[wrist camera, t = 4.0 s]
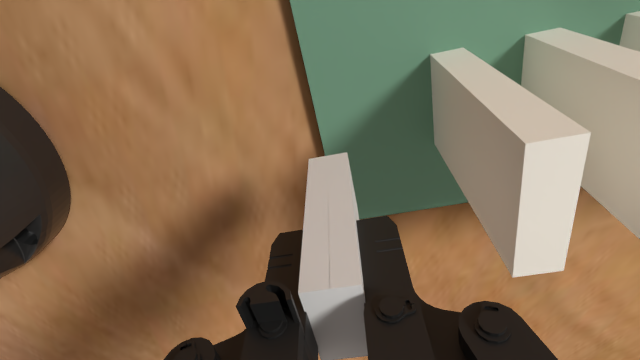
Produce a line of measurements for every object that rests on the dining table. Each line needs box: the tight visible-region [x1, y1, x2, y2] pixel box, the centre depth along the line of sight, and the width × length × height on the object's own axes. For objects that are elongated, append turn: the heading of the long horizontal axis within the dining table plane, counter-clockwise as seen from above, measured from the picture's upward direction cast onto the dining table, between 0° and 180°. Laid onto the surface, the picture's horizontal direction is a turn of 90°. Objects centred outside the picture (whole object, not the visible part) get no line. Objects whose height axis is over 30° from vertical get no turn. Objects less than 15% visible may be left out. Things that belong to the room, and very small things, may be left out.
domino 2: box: [521, 28, 640, 239], centre depth 14 cm, size 2×5×10 cm, turn 12°
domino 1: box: [430, 48, 591, 277], centre depth 15 cm, size 2×5×10 cm, turn 12°
